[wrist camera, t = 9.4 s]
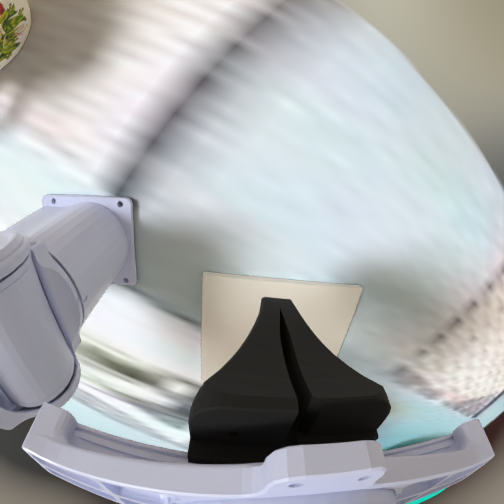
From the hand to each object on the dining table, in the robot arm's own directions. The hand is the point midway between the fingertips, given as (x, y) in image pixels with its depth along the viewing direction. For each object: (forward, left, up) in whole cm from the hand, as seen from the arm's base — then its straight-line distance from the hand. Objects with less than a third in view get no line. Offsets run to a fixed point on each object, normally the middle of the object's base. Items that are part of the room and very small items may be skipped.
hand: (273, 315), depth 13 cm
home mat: (+2, -13, -10) cm, 17 cm away
